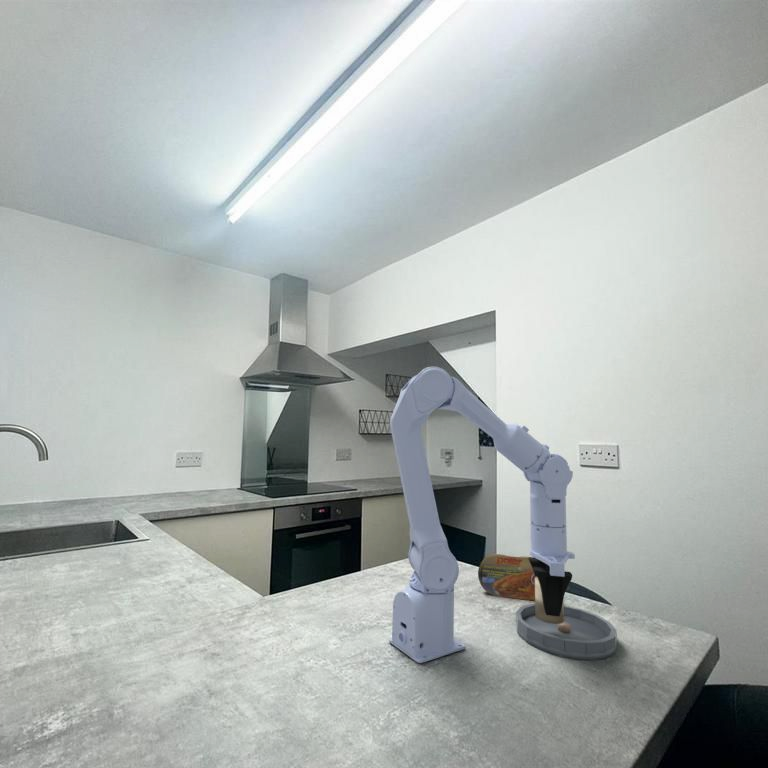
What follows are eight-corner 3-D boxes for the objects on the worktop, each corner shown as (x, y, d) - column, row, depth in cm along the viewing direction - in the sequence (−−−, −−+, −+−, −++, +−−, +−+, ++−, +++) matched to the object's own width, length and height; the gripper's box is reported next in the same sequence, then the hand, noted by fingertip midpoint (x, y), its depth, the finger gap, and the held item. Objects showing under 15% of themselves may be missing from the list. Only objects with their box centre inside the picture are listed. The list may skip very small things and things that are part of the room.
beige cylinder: (552, 626, 67) (551, 586, 67) (529, 615, 70) (529, 578, 71) (569, 620, 69) (568, 581, 70) (546, 610, 73) (545, 574, 73)
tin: (477, 594, 90) (478, 553, 91) (478, 589, 93) (478, 549, 94) (552, 603, 86) (552, 560, 87) (550, 598, 89) (550, 557, 90)
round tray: (581, 670, 61) (580, 651, 61) (497, 628, 73) (497, 613, 74) (635, 645, 69) (634, 628, 69) (551, 611, 82) (551, 598, 82)
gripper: (584, 535, 64) (587, 630, 62) (563, 518, 78) (565, 596, 76) (536, 531, 65) (537, 625, 63) (523, 516, 79) (524, 592, 77)
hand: (549, 609), depth 70 cm, fingers closed on beige cylinder, 4 cm apart
